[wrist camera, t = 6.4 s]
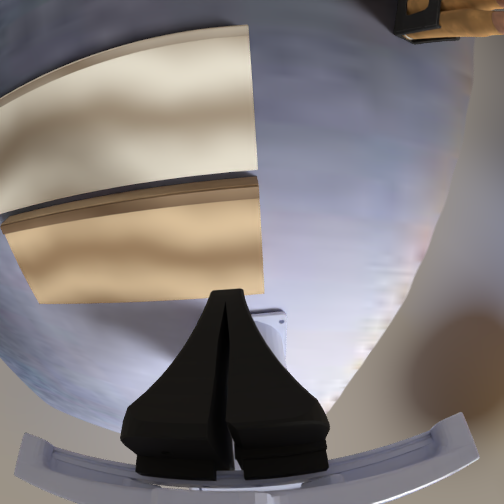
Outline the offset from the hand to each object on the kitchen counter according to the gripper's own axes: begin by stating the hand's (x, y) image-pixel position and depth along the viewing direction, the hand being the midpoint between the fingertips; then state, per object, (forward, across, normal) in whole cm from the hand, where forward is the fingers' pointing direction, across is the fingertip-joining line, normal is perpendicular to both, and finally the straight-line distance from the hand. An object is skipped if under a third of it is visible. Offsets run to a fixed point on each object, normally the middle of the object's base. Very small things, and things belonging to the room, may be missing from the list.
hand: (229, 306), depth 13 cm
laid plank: (+9, +9, +2) cm, 13 cm away
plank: (+9, +9, -8) cm, 15 cm away
